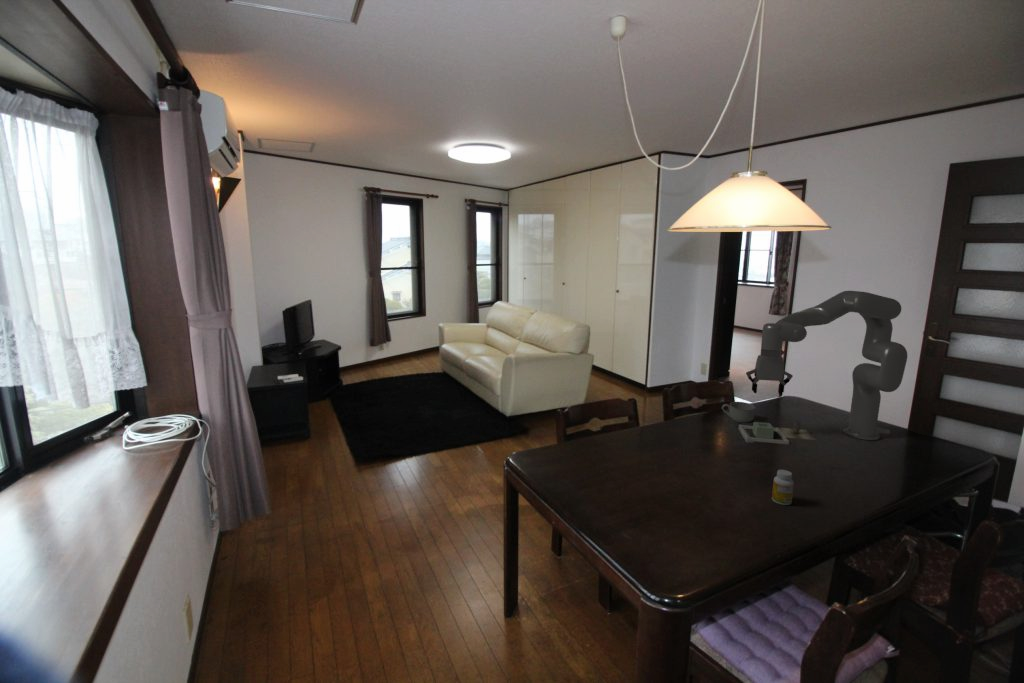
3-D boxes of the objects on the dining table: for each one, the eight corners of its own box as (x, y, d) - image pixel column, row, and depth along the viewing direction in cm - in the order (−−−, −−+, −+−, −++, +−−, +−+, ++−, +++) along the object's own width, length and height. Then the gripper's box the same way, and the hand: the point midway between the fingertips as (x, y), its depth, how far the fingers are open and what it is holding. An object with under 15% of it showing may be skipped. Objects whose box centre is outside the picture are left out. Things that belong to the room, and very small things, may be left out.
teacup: (754, 420, 215) (756, 403, 213) (752, 427, 206) (754, 410, 204) (722, 414, 222) (724, 399, 221) (719, 421, 213) (720, 405, 212)
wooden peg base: (806, 432, 200) (808, 418, 198) (816, 442, 188) (818, 427, 187) (776, 429, 203) (777, 415, 202) (784, 439, 191) (786, 424, 190)
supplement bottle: (773, 494, 146) (776, 466, 144) (792, 500, 143) (796, 471, 141) (770, 501, 142) (773, 472, 140) (789, 507, 139) (793, 478, 137)
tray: (777, 432, 199) (777, 427, 198) (788, 446, 184) (789, 441, 184) (738, 429, 203) (739, 424, 202) (746, 442, 188) (747, 437, 188)
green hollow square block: (768, 434, 196) (769, 423, 195) (772, 439, 189) (774, 428, 189) (752, 432, 197) (753, 421, 196) (756, 438, 191) (757, 427, 190)
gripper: (791, 352, 188) (787, 391, 191) (745, 350, 193) (742, 389, 196) (797, 356, 181) (793, 397, 184) (750, 354, 186) (746, 394, 189)
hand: (767, 393), depth 190 cm, fingers open, 9 cm apart
